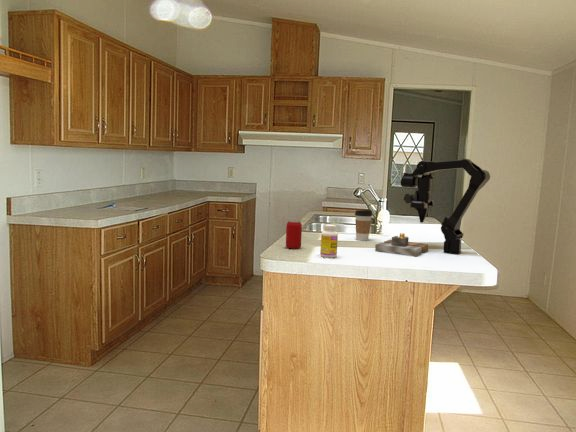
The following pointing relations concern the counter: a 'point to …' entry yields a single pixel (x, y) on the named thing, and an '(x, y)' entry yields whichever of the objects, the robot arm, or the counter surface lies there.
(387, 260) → the counter surface
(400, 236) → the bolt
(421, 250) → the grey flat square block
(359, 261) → the counter surface
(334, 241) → the supplement bottle
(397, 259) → the counter surface
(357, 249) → the counter surface
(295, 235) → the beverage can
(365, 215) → the coffee cup
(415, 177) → the robot arm
